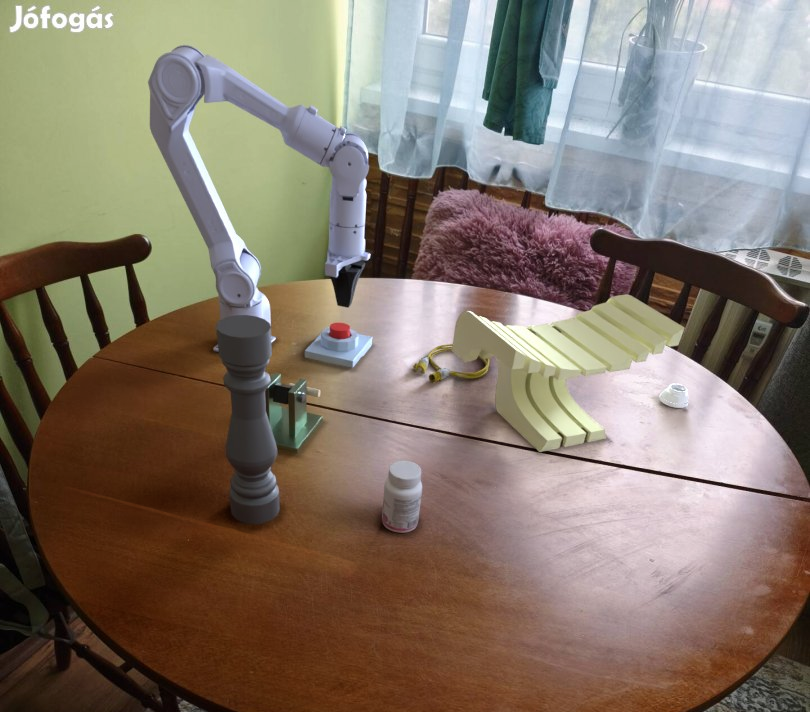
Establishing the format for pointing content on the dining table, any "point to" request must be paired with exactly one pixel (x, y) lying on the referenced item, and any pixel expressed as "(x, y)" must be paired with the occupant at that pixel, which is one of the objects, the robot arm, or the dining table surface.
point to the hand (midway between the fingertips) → (344, 305)
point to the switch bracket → (290, 416)
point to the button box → (339, 348)
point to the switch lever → (283, 390)
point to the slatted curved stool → (562, 363)
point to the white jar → (675, 396)
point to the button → (339, 331)
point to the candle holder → (249, 417)
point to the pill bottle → (402, 497)
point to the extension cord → (445, 372)
